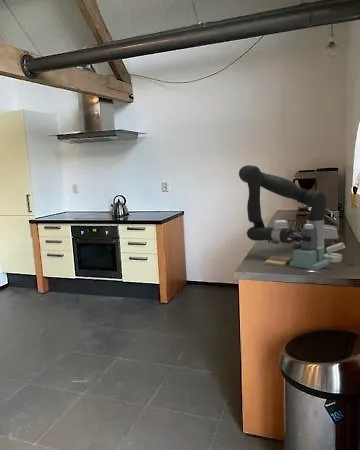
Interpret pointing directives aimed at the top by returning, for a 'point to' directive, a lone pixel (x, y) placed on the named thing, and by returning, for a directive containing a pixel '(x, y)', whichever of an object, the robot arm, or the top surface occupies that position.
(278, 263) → the wooden pad
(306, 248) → the steel sleeve
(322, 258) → the vise
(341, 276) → the top surface
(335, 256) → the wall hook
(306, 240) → the robot arm
